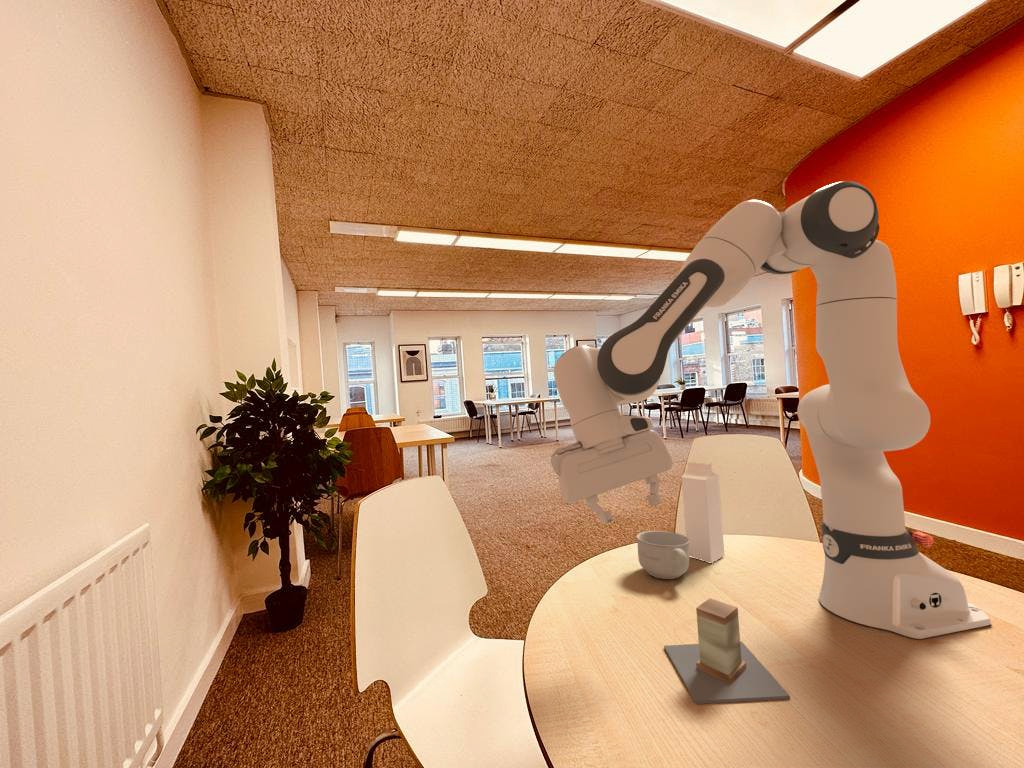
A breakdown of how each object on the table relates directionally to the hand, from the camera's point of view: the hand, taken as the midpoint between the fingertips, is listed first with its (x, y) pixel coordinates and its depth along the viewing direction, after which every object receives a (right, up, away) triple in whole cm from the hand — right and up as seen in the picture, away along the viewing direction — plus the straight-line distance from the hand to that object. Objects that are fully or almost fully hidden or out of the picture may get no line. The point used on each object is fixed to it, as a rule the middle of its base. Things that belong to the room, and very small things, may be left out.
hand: (632, 513), depth 72 cm
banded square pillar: (+10, -19, -10) cm, 24 cm away
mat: (+10, -19, -10) cm, 24 cm away
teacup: (+13, -20, +21) cm, 32 cm away
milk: (+25, -19, +29) cm, 43 cm away
